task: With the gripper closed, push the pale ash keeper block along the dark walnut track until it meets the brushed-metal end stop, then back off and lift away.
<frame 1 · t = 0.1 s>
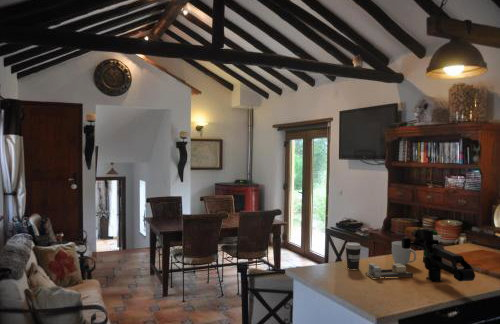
hand: (409, 239, 241), 17 cm above the counter, tool horizontal, fingers open, 9 cm apart
coffee cup: (353, 269, 237), on the counter
milk carton: (431, 263, 248), on the counter
keeper: (399, 269, 224), point 4 cm above the counter, slide at 0.0 cm
track: (389, 275, 224), on the counter
mug: (402, 264, 246), on the counter
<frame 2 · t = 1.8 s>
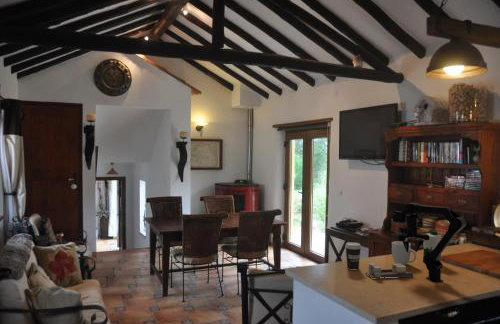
hand: (411, 252, 225), 13 cm above the counter, tool pointing down, fingers open, 5 cm apart
nothing on the counter moved.
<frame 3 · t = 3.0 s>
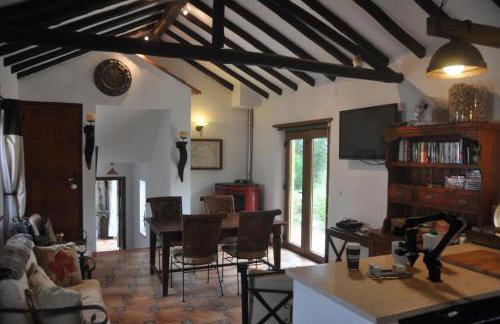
hand: (411, 266, 225), 5 cm above the counter, tool pointing down, fingers closed
nothing on the counter moved.
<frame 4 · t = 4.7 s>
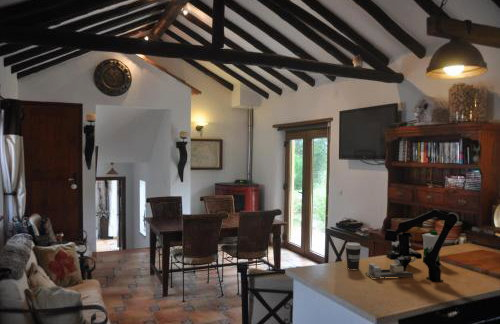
hand: (403, 270, 225), 3 cm above the counter, tool pointing down, fingers closed
keeper: (396, 269, 224), point 4 cm above the counter, slide at 1.5 cm, touching gripper
everything else where it was.
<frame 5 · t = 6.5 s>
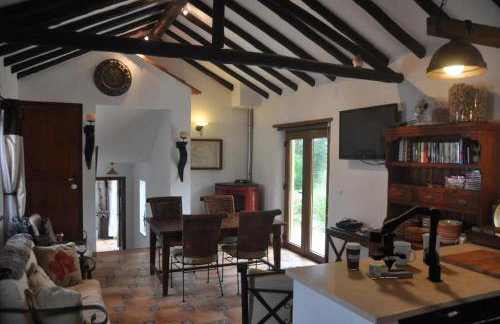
hand: (388, 271, 224), 3 cm above the counter, tool pointing down, fingers closed
keeper: (381, 269, 223), point 4 cm above the counter, slide at 10.6 cm, touching gripper
everything else where it was.
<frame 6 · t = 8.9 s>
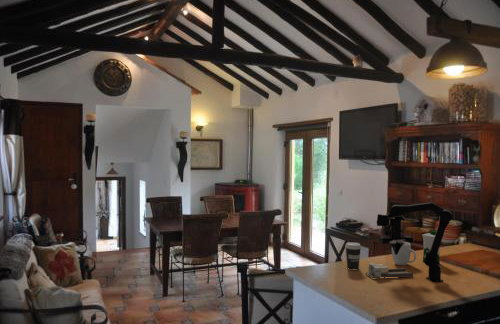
hand: (395, 254, 224), 12 cm above the counter, tool pointing down, fingers closed
keeper: (381, 269, 223), point 4 cm above the counter, slide at 10.5 cm
everything else where it was.
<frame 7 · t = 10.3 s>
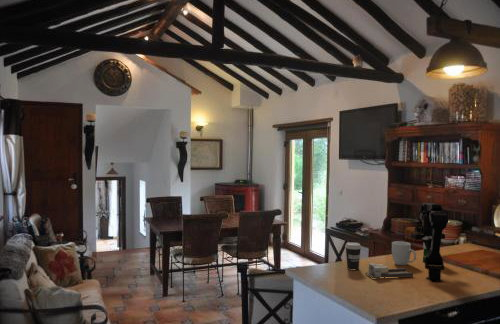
hand: (427, 250, 232), 12 cm above the counter, tool pointing down, fingers closed
nothing on the counter moved.
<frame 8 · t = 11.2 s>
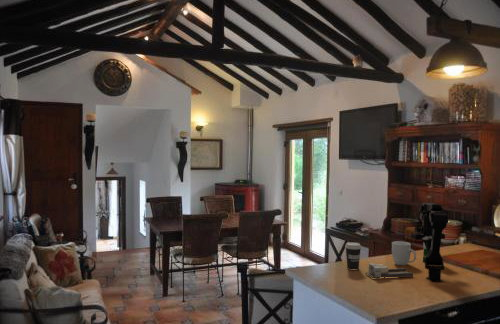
hand: (427, 250, 232), 12 cm above the counter, tool pointing down, fingers closed
nothing on the counter moved.
at the end: keeper slide at 10.5 cm; coffee cup moved 0.2 cm from its start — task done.
